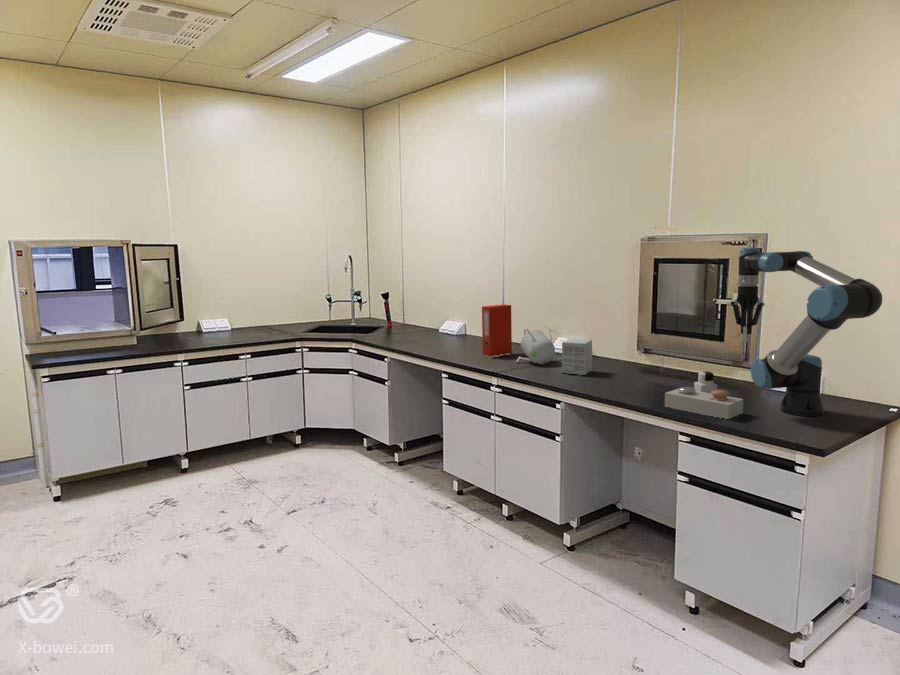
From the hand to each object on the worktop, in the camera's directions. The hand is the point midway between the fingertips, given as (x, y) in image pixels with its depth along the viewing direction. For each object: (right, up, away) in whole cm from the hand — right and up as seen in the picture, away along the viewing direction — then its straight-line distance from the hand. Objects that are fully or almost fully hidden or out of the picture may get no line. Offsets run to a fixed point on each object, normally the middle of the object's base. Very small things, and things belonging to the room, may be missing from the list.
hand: (745, 341), depth 248 cm
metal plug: (-25, -27, 0) cm, 37 cm away
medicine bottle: (-12, -25, +12) cm, 30 cm away
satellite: (-71, -14, +102) cm, 125 cm away
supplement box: (-55, -17, +73) cm, 93 cm away
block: (-20, -28, -5) cm, 35 cm away
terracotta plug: (-16, -27, -11) cm, 33 cm away
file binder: (-94, -10, +128) cm, 159 cm away
